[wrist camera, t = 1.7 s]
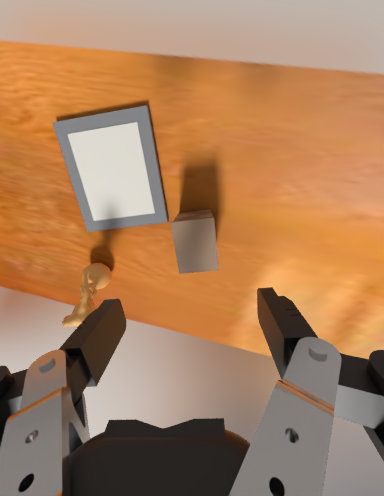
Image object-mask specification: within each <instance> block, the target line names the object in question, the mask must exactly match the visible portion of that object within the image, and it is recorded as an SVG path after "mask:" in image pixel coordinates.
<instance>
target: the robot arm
mask: <svg viewBox="0 0 384 496" xmlns="http://www.w3.org/2000/svg"><path fill="white" fill-rule="evenodd" d="M257 304H258V319H259V323H260V325H261V328H262V330H263V333H264V336H265V338H266V341H267V343H268V346H269V349H270V351H271V354H272V356H273V359H274V361H275V364H276V367H277V369H278V372H279V374H280V377H281V379H282V381H281V380H278V382H277V383H276V385H275V387H274V390H273V392H272V395H271V397H270V399H269V402H268V404H267V407H266V409H265V411H264V414H263V416H262V418H261V421H260V423H259V425H258V428H257V430H256V432H255V435H254V437H253V440H252V442H251V444H250V443H249V442H248V441H247V440H245V439H244V438H242V437H241V436H239V435H237V434H235V433H233V432H231V431H228V430H225V426H224V419H193V420H189V421H186V422H183V423H180V424H177V425H174V426H171V427H168V428H163V429H162V428H159V427H156V426H153V425H150V424H147V423H144V422H141V421H138V420H109V422H108V424H107V427H106V430H105V432H103V433H101V434H99V435H97V436H95V437H93V438H91V439H90V435H89V427H88V419H87V412H86V404H85V397H84V394H83V391H84V389H85V388H86V387H90V386H97V384H98V382H99V380H100V378H101V376H102V375H103V373H104V371H105V369H106V367H107V365H108V363H109V361H110V359H111V357H112V355H113V353H114V351H115V349H116V347H117V345H118V344H119V342H120V339H121V338H122V336H123V334H124V332H125V329H126V318H125V315H124V311H123V308H122V305H121V301H120V300H119V299H109V300H104V301H103V303H102V304H101V305H100V306H99V307H98V309H96V310H94V311H93V312H91V313H90V314H89V315H88V316H87V317H86V318H85V319H84V320H83V321H82V323H81V324H80V325H79V326H78V327H77V329H76V330H75V331H74V332H73V333H72V334H71V336H70V337H69V338H68V339H67V340H66V342H65V343H64V344H63V345H62V346H61V348H60V349H59V350H54V351H51V352H48V353H46V354H44V355H42V356H41V357H39V358H38V359H37V360H36V361H34V362H33V363H32V364H31V366H30V367H29V368H28V369H26V370H23V371H20V372H16V373H13V374H11V373H10V371H9V369H8V368H7V367H6V366H0V496H322V492H323V486H324V478H325V472H326V465H327V458H328V452H329V445H330V438H331V431H332V424H333V417H334V416H335V417H339V418H342V419H345V420H348V421H351V422H354V423H357V424H360V425H363V427H364V429H365V430H366V432H367V434H368V435H369V437H370V439H371V440H372V442H373V444H374V446H375V447H376V449H377V451H378V452H379V454H380V456H381V457H382V459H383V461H384V350H377V351H374V352H372V353H371V354H370V356H369V359H364V358H359V357H354V356H349V355H345V354H342V353H339V351H338V350H337V349H336V348H335V347H334V346H333V345H332V344H330V343H329V342H327V341H325V340H322V339H320V338H318V337H317V335H316V334H315V332H314V331H313V330H312V328H311V327H310V325H309V324H308V323H307V321H306V320H305V319H304V317H303V316H302V315H301V313H300V312H299V310H297V307H296V306H295V305H294V303H293V302H292V301H291V300H289V299H288V298H286V297H285V296H278V295H277V294H276V292H275V291H274V289H273V288H272V287H271V288H258V290H257Z"/></svg>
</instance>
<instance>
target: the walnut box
mask: <svg viewBox="0 0 384 496" xmlns="http://www.w3.org/2000/svg"><path fill="white" fill-rule="evenodd" d="M171 228H172V234H173V239H174V245H175V251H176V257H177V263H178V268H179V274H182V273H193V272H204V271H214V270H219V263H218V253H217V243H216V232H215V222H214V217H213V216H212V211H211V209H205V210H197V211H189V212H181V213H179V214H178V215H177V217H176V218H175V220H174V221H173V222H171Z"/></svg>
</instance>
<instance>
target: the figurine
mask: <svg viewBox="0 0 384 496" xmlns="http://www.w3.org/2000/svg"><path fill="white" fill-rule="evenodd" d="M110 279H111V271H110V269H109V268H108V267H107V266H106V265H104V264H102V263H93V264H91V265H89V266H87V267H86V268H85V270H84V271H83V274H82V280H83V283H84V285H81V287H80V290H81V294H82V297H81V298H80V301H81V303H80V304H78V305H77V306H76V307H75V308H74V310H73V312H72V314H71V315H69V316H66V317H65V318H64V320H63V322H62V324H63V326H65V327H69V326H79V325H80V324H81V323H82V321H83V320H84V319H85V318H86V317H87V316H88V315H89V314H90V313H91V312H93V311H94V303H93V300H92V298H93V297H94V296H95V294H96V293H97V292H96V289H101V288H103V287H105V286H106V285H107V284H108V283H109V282H110ZM89 288H91V289H92V291H93V293H92V291H91V290H90V289H89Z"/></svg>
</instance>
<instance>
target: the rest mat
mask: <svg viewBox="0 0 384 496" xmlns="http://www.w3.org/2000/svg"><path fill="white" fill-rule="evenodd" d="M52 123H53V126H54V129H55V132H56V135H57V138H58V141H59V145H60V148H61V151H62V154H63V157H64V160H65V163H66V166H67V169H68V173H69V176H70V179H71V182H72V185H73V188H74V191H75V194H76V197H77V201H78V204H79V207H80V210H81V213H82V216H83V219H84V222H85V225H86V228H87V232H92V231H100V230H108V229H116V228H125V227H133V226H141V225H149V224H158V223H166V222H168V216H167V210H166V204H165V199H164V193H163V187H162V182H161V176H160V170H159V164H158V159H157V153H156V147H155V142H154V136H153V130H152V124H151V119H150V113H149V108H148V106H147V105H145V106H140V107H134V108H129V109H123V110H118V111H113V112H107V113H102V114H96V115H91V116H85V117H80V118H74V119H69V120H63V121H58V122H52Z"/></svg>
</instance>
